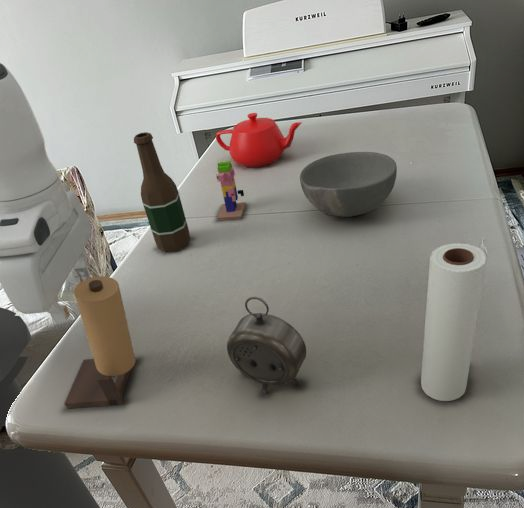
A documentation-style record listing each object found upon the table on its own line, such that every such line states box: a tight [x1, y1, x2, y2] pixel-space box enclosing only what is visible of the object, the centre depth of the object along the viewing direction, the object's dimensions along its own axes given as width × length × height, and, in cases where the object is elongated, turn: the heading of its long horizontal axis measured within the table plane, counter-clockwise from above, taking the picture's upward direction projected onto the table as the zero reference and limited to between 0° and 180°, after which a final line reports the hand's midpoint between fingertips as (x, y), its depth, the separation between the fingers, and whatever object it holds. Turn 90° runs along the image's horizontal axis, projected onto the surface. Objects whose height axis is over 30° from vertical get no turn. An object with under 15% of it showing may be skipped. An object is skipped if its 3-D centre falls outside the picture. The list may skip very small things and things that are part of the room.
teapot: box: [215, 112, 303, 168], centre depth 140 cm, size 25×16×12 cm, turn 73°
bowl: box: [299, 151, 398, 218], centre depth 111 cm, size 20×20×10 cm
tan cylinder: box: [73, 275, 136, 382], centre depth 76 cm, size 16×8×6 cm
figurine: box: [215, 160, 247, 221], centre depth 119 cm, size 7×6×12 cm
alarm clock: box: [226, 296, 307, 395], centre depth 73 cm, size 11×5×16 cm, turn 66°
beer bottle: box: [133, 131, 191, 253], centre depth 107 cm, size 8×8×24 cm
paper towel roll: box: [420, 237, 488, 402], centre depth 65 cm, size 7×6×21 cm
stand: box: [64, 357, 137, 410], centre depth 82 cm, size 9×10×6 cm
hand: (74, 298), depth 72 cm, fingers open, 8 cm apart
